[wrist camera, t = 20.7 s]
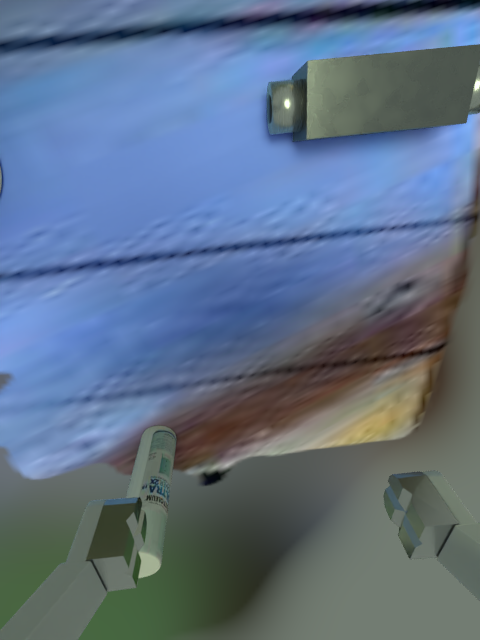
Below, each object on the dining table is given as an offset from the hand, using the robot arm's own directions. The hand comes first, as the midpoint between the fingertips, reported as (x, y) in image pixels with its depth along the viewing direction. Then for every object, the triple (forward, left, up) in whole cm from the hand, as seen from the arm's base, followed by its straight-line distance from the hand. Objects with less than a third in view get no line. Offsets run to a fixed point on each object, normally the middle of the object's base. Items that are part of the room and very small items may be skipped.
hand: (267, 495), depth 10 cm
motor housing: (+1, +21, -34) cm, 40 cm away
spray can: (+15, -35, -34) cm, 51 cm away
